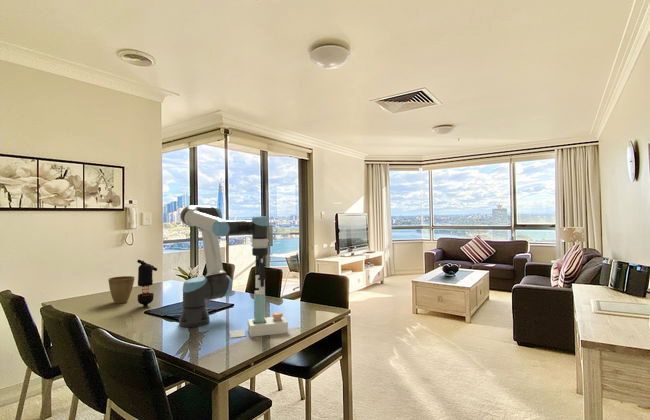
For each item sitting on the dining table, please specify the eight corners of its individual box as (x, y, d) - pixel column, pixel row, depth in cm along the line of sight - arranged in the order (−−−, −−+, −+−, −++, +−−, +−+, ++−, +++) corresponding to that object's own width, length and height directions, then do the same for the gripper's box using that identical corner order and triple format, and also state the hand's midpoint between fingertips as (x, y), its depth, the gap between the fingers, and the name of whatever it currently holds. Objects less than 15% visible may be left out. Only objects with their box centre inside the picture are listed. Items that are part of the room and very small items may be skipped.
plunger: (273, 324, 163) (273, 316, 163) (271, 321, 168) (271, 313, 168) (283, 323, 165) (283, 315, 165) (281, 320, 169) (281, 312, 169)
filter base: (250, 336, 156) (250, 326, 157) (247, 329, 167) (247, 319, 167) (287, 332, 162) (287, 322, 162) (283, 325, 173) (283, 315, 173)
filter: (142, 309, 201) (142, 260, 202) (132, 307, 205) (133, 259, 206) (161, 304, 214) (162, 257, 214) (152, 302, 218) (152, 256, 218)
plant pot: (125, 305, 211) (126, 280, 212) (102, 305, 212) (102, 279, 212) (139, 299, 226) (139, 275, 227) (117, 299, 226) (117, 275, 227)
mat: (230, 338, 154) (230, 337, 154) (229, 331, 163) (229, 331, 163) (245, 336, 157) (245, 335, 157) (244, 330, 165) (244, 329, 165)
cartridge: (254, 334, 160) (254, 292, 160) (253, 330, 165) (253, 290, 165) (265, 333, 162) (265, 291, 162) (263, 329, 167) (264, 289, 167)
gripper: (271, 249, 153) (271, 295, 153) (263, 245, 177) (263, 285, 176) (255, 249, 151) (255, 296, 150) (249, 245, 175) (249, 286, 174)
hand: (260, 290), depth 163 cm, fingers open, 13 cm apart
